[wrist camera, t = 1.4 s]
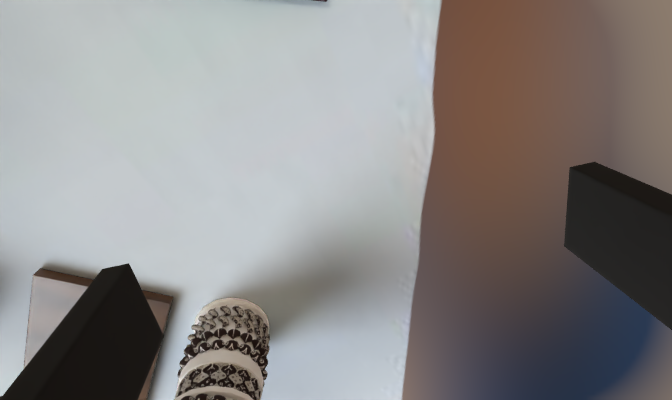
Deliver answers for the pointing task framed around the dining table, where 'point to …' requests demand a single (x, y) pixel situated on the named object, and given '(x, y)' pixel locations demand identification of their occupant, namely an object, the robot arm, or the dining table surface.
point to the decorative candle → (225, 353)
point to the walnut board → (57, 300)
